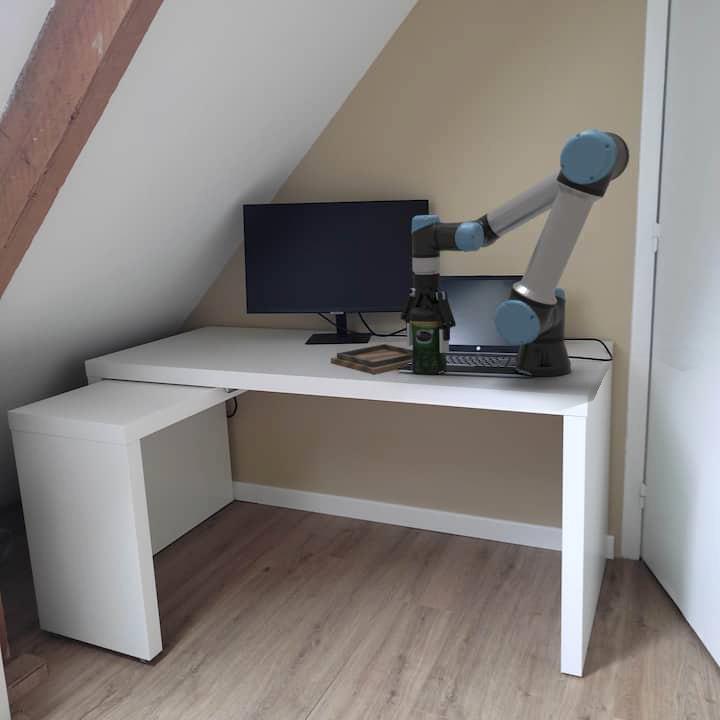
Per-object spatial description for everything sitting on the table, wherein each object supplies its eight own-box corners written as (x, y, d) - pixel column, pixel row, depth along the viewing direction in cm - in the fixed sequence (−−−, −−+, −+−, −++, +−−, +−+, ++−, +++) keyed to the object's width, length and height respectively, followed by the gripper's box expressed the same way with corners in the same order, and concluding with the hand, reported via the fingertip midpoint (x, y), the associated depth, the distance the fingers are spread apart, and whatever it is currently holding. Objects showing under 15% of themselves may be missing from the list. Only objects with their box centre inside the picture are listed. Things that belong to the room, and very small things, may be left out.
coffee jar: (449, 369, 208) (448, 304, 204) (441, 376, 201) (440, 309, 197) (417, 367, 212) (415, 304, 208) (408, 374, 205) (406, 308, 201)
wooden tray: (430, 361, 218) (430, 352, 218) (374, 374, 206) (374, 364, 206) (384, 351, 236) (384, 342, 235) (330, 362, 224) (330, 353, 223)
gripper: (468, 274, 193) (469, 352, 197) (407, 268, 212) (409, 340, 217) (447, 277, 188) (448, 357, 193) (387, 271, 208) (389, 344, 213)
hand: (427, 348), depth 205 cm, fingers open, 13 cm apart
